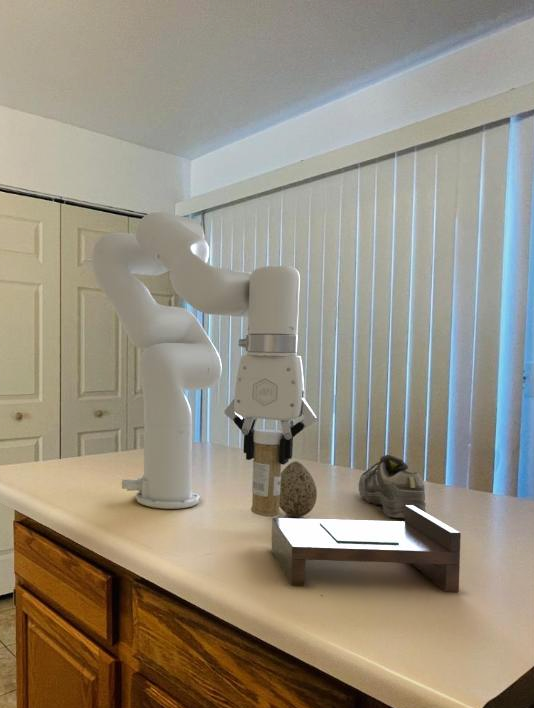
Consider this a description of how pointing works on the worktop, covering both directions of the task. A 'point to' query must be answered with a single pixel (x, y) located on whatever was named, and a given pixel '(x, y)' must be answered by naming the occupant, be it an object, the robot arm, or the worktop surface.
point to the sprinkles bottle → (266, 472)
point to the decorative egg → (297, 490)
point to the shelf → (370, 545)
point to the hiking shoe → (392, 487)
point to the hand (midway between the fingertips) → (267, 459)
